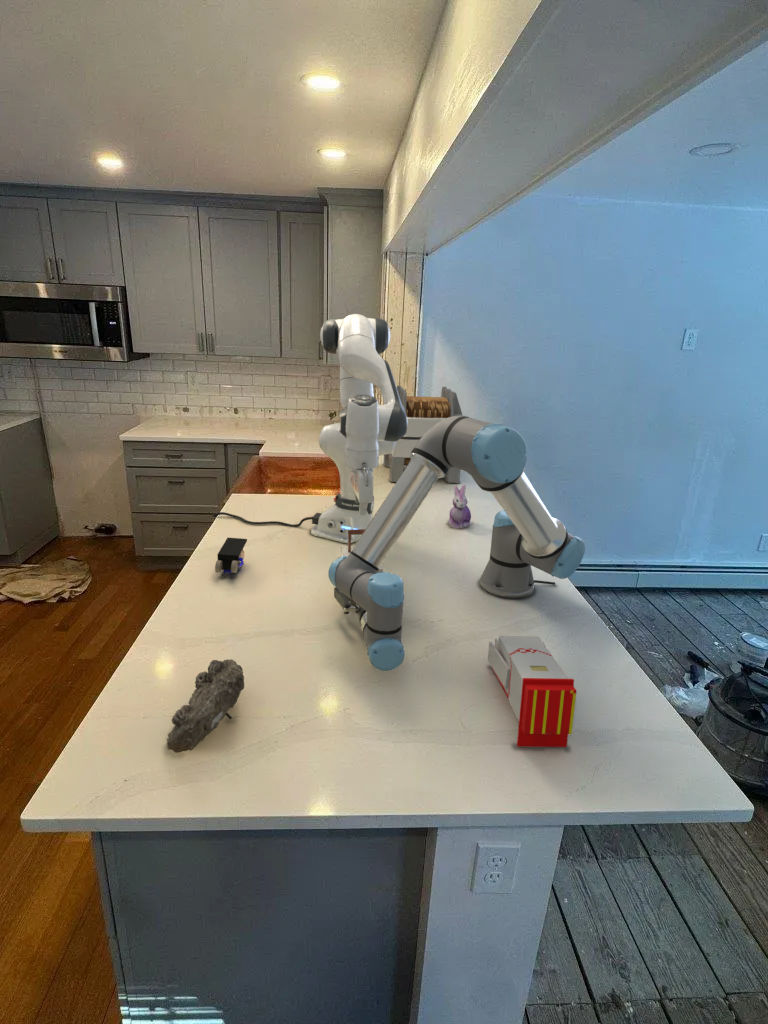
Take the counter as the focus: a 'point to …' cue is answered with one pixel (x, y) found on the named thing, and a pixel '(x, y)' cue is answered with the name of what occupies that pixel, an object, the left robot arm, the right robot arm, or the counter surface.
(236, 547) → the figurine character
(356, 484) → the left robot arm
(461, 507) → the figurine
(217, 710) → the fossil
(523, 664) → the toy
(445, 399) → the transformer
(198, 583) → the counter surface
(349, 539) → the lid
